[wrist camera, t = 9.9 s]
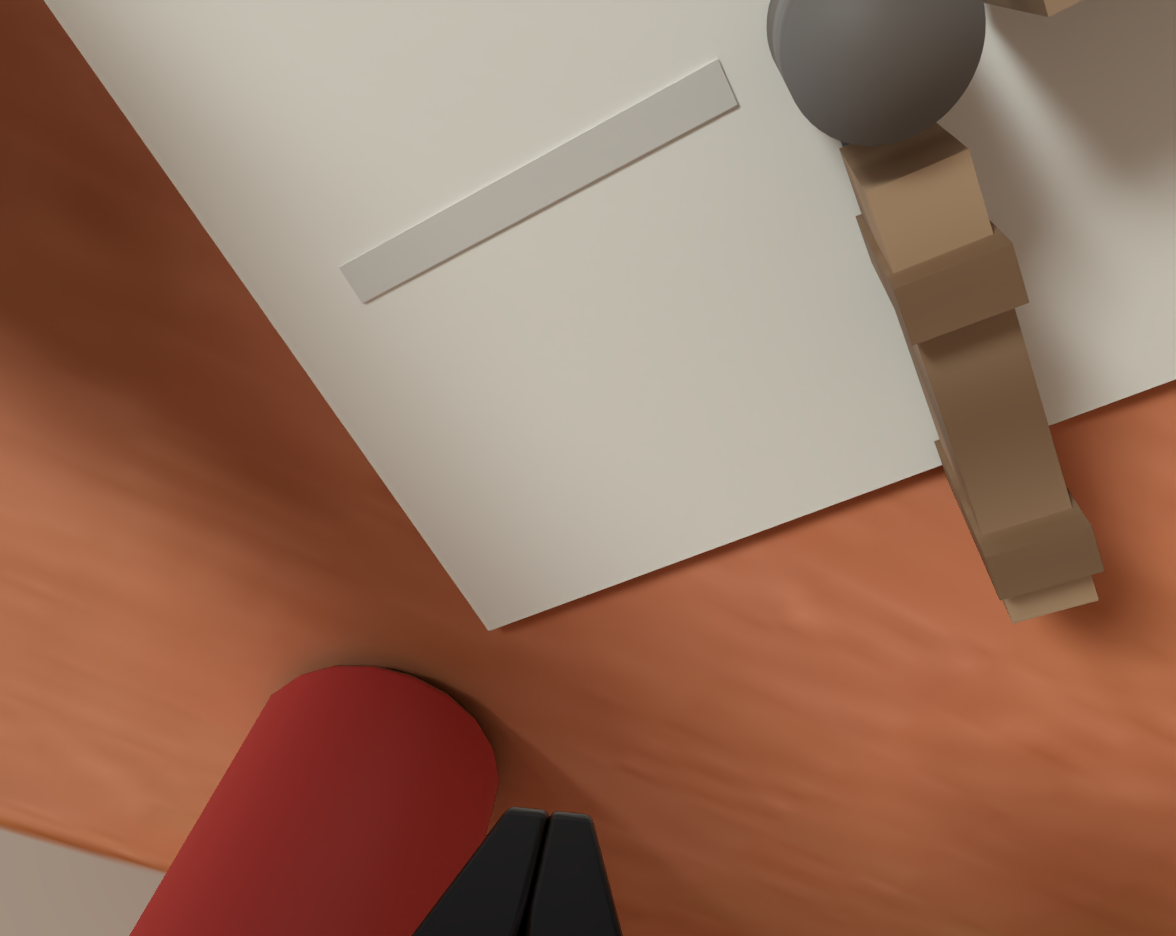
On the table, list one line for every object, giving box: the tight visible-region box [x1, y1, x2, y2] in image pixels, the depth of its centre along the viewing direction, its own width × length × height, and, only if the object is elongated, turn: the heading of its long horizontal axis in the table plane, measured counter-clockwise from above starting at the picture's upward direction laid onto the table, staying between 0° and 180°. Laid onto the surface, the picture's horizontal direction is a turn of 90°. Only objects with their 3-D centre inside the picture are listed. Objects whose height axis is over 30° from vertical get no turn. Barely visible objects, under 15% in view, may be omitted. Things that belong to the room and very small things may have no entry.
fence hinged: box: [839, 123, 1104, 624], centre depth 15 cm, size 8×2×4 cm, turn 26°
